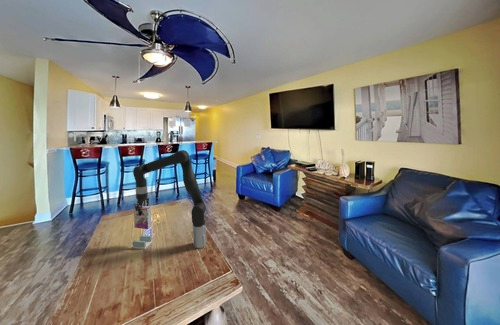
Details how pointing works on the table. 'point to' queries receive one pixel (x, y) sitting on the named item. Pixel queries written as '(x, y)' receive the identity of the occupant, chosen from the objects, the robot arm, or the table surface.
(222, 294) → the table surface
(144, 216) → the candy bar box
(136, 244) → the slotted rack
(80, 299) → the table surface
